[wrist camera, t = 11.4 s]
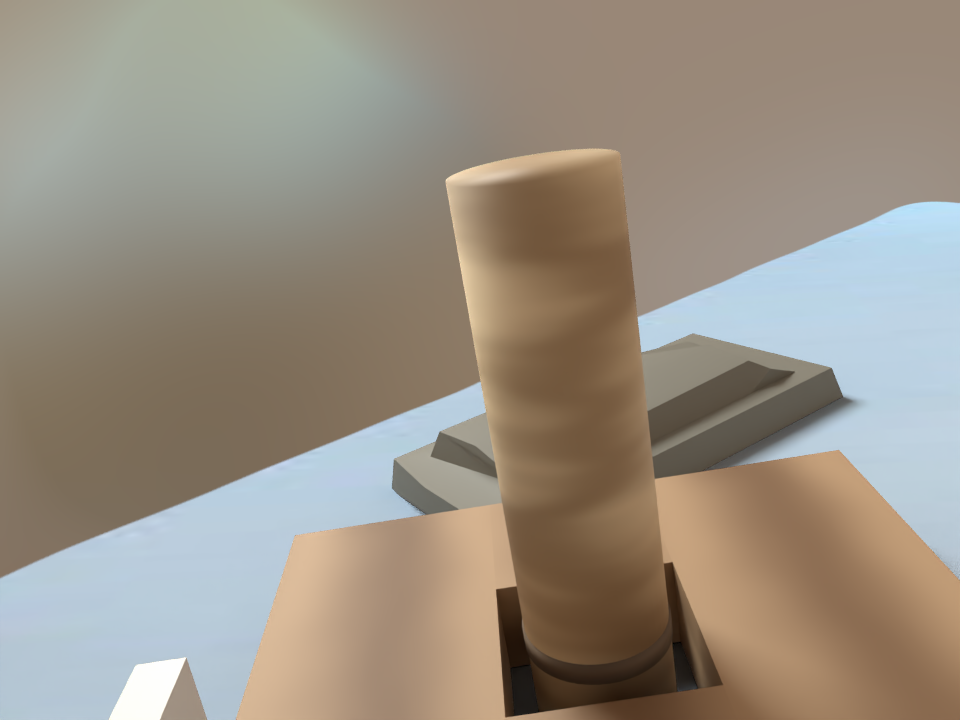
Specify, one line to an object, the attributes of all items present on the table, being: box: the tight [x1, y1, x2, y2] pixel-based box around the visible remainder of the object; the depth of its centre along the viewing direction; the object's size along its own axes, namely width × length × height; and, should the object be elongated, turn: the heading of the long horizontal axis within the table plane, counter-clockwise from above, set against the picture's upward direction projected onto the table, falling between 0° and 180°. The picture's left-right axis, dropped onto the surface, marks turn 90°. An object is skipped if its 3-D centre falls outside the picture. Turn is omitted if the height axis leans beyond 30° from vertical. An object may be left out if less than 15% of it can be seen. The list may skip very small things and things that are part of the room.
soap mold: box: [392, 334, 843, 515], centre depth 42 cm, size 10×20×4 cm, turn 123°
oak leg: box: [446, 149, 677, 713], centre depth 23 cm, size 4×4×16 cm
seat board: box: [236, 450, 960, 720], centre depth 25 cm, size 20×16×3 cm
